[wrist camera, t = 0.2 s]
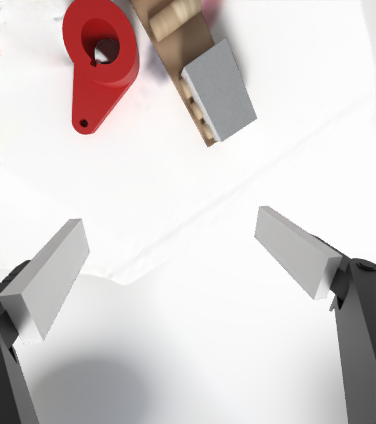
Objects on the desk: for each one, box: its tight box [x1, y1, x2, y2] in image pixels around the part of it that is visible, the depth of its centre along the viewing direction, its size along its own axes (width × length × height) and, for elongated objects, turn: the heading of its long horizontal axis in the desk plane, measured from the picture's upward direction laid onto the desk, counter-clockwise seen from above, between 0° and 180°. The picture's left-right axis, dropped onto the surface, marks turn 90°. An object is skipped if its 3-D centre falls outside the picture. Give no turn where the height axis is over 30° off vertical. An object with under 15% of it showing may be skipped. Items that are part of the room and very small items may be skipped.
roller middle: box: [191, 102, 203, 120], centre depth 35 cm, size 8×3×3 cm, turn 122°
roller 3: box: [201, 123, 213, 139], centre depth 36 cm, size 8×3×3 cm, turn 122°
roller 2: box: [179, 79, 192, 99], centre depth 33 cm, size 8×3×3 cm, turn 122°
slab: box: [181, 38, 257, 142], centre depth 32 cm, size 12×7×4 cm, turn 32°
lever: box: [62, 0, 140, 135], centre depth 30 cm, size 18×9×7 cm, turn 150°
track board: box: [129, 0, 217, 147], centre depth 31 cm, size 28×9×7 cm, turn 32°
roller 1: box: [148, 0, 202, 42], centre depth 29 cm, size 8×3×3 cm, turn 122°
